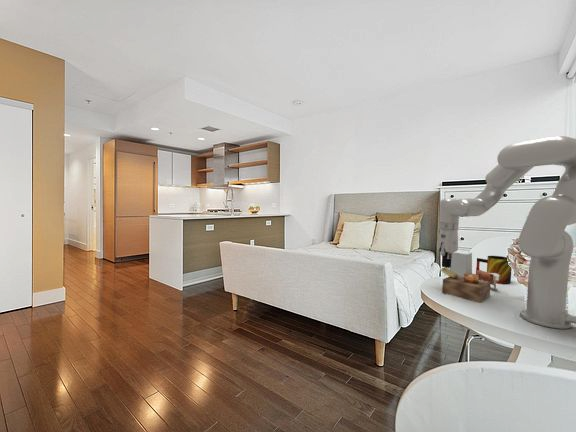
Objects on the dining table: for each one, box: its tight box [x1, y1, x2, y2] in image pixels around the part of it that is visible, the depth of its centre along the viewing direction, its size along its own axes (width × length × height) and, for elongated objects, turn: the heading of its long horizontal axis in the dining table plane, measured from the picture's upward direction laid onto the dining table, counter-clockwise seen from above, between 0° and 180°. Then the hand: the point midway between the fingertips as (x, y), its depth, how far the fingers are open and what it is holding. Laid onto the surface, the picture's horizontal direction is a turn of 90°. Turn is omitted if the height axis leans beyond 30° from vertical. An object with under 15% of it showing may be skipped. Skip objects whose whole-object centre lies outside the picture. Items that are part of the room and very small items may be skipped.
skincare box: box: [449, 250, 473, 277], centre depth 135 cm, size 8×6×15 cm
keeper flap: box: [440, 267, 458, 279], centre depth 121 cm, size 6×4×1 cm
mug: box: [475, 255, 513, 285], centre depth 136 cm, size 10×14×12 cm
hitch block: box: [441, 276, 491, 304], centre depth 116 cm, size 14×12×6 cm
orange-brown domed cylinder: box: [464, 272, 479, 284], centre depth 115 cm, size 5×5×8 cm
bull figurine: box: [475, 269, 502, 291], centre depth 125 cm, size 4×13×8 cm, turn 2°
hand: (446, 267), depth 122 cm, fingers closed
